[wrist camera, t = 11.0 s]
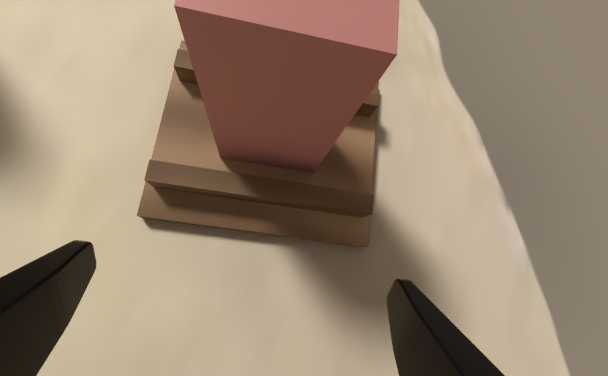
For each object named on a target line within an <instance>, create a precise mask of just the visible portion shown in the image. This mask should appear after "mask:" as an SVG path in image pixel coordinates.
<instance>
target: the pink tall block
mask: <svg viewBox="0 0 608 376" xmlns="http://www.w3.org/2000/svg"><path fill="white" fill-rule="evenodd" d="M174 6H175V10H176V13H177V16H178V20H179V23H180V26H181V30H182V33H183V36H184V40H185V43H186V46H187V49H188V53H189V56H190V59H191V63H192V66H193V69H194V73H195V76H196V79H197V83H198V86H199V89H200V92H201V96H202V99H203V102H204V106H205V109H206V112H207V116H208V119H209V122H210V126H211V129H212V132H213V136H214V139H215V142H216V145H217V149H218V152H219V155H220V158H223V159H229V160H235V161H241V162H248V163H254V164H260V165H267V166H273V167H279V168H285V169H292V170H298V171H304V172H310V173H314V172H315V170H316V169H317V168H318V166H319V165H320V163H321V162H322V160H323V159H324V158H325V156H326V155H327V153H328V152H329V150H330V149H331V148H332V146H333V145H334V143H335V142H336V140H337V139H338V138H339V136H340V135H341V133H342V132H343V131H344V129H345V128H346V126H347V125H348V123H349V122H350V121H351V119H352V118H353V116H354V115H355V113H356V112H357V111H358V109H359V108H360V106H361V105H362V104H363V102H364V101H365V99H366V98H367V96H368V95H369V94H370V92H371V91H372V89H373V88H374V86H375V85H376V84H377V82H378V81H379V79H380V78H381V77H382V75H383V74H384V72H385V71H386V69H387V68H388V67H389V65H390V64H391V62H392V61H393V59H394V58H395V57H396V55H397V44H398V21H399V0H176V1H175V5H174Z"/></svg>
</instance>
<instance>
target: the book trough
mask: <svg viewBox="0 0 608 376" xmlns="http://www.w3.org/2000/svg"><path fill="white" fill-rule="evenodd" d="M378 84H379V81H378V82H377V84H376V85H375V86H374V88H373V89H372V91H371V92H370V94H369V95H368V96H367V98H366V99H365V101H364V102H363V104H362V105H361V106H360V108H359V109H358V111H357V112H356V113H355V115H354V116H353V118H352V119H351V121H350V122H349V123H348V125H347V126H346V128H345V129H344V131H343V132H342V133H341V135H340V136H339V138H338V139H337V140H336V142H335V143H334V145H333V146H332V148H331V149H330V150H329V152H328V153H327V155H326V156H325V158H324V159H323V160H322V162H321V163H320V165H319V166H318V168H317V169H316V170H315V172H314V173H310V172H304V171H298V170H292V169H285V168H279V167H273V166H267V165H260V164H254V163H248V162H241V161H235V160H229V159H223V158H220V155H219V152H218V149H217V145H216V142H215V139H214V136H213V132H212V129H211V126H210V122H209V119H208V116H207V112H206V109H205V106H204V102H203V99H202V96H201V92H200V89H199V86H198V83H197V79H196V76H195V73H194V69H193V66H192V63H191V59H190V56H189V53H188V49H187V46H186V43H185V41H181V45H180V49H178V51H177V55H176V59H175V63H174V72H173V76H172V80H171V84H170V88H169V92H168V96H167V100H166V104H165V108H164V112H163V115H162V119H161V123H160V127H159V131H158V135H157V139H156V143H155V147H154V151H153V155H152V159H151V160H149V164H148V168H147V172H146V176H145V181H146V182H145V186H144V190H143V194H142V198H141V202H140V206H139V210H138V214H137V216H139V217H141V218H148V219H156V220H163V221H171V222H178V223H186V224H193V225H201V226H209V227H216V228H224V229H231V230H239V231H246V232H254V233H262V234H269V235H277V236H284V237H292V238H299V239H307V240H314V241H322V242H330V243H337V244H345V245H352V246H360V247H368V243H369V227H370V214H372V205H373V194H372V179H373V163H374V147H375V131H376V115H377V107H378V106H379V91H380V90H378Z"/></svg>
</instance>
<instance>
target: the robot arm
mask: <svg viewBox="0 0 608 376" xmlns="http://www.w3.org/2000/svg"><path fill="white" fill-rule="evenodd" d="M95 269H96V259H95V253H94V248H93V245H92V243H91V242H87V241H78V240H75V241H72V242H70V243H68V244H66V245H64V246H62V247H60V248H58V249H56V250H54V251H52V252H50V253H48V254H46V255H44V256H42V257H40V258H38V259H36V260H34V261H32V262H30V263H28V264H26V265H24V266H22V267H21V268H19V269H17V270H15V271H13V272H11V273H9V274H7V275H5V276H3V277H1V278H0V376H36V375H37V374H38V372H39V370H40V369H41V367H42V366H43V364H44V362H45V361H46V359H47V358H48V356H49V354H50V353H51V351H52V350H53V348H54V347H55V345H56V343H57V342H58V340H59V339H60V337H61V335H62V334H63V332H64V331H65V329H66V327H67V326H68V324H69V322H70V320H71V318H72V317H73V315H74V313H75V311H76V309H77V306H78V304H79V302H80V300H81V298H82V296H83V294H84V292H85V290H86V288H87V286H88V284H89V282H90V280H91V278H92V276H93V274H94V272H95ZM387 308H388V316H389V323H390V331H391V338H392V345H393V351H394V356H395V360H396V364H397V368H398V373H399V376H505V375H504V374H503V373H502V372H501V371H500V370H499V369H498V368H497V367H496V366H495V365H494V364H493V363H492V362H491V361H490V360H489V359H488V358H487V357H486V356H485V355H484V354H483V353H482V352H481V351H480V350H479V349H478V348H477V347H476V346H475V345H474V344H473V343H472V342H471V341H470V340H469V339H468V338H467V337H466V336H465V335H464V334H463V333H462V332H461V331H460V330H459V329H458V328H457V327H456V326H455V325H454V324H453V323H452V322H451V321H450V320H449V319H448V318H447V317H446V316H445V315H444V314H443V313H442V312H441V311H440V310H439V309H438V308H437V307H436V306H435V305H434V304H433V303H432V302H431V301H430V300H429V299H428V298H427V297H426V296H425V295H424V294H423V293H422V292H421V291H420V290H419V289H418V288H417V287H416V286H415V285H414V284H413V283H412V282H411V281H410V280H407V279H396V280H395V281H394V283H393V285H392V287H391V289H390V291H389V293H388V296H387Z"/></svg>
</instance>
